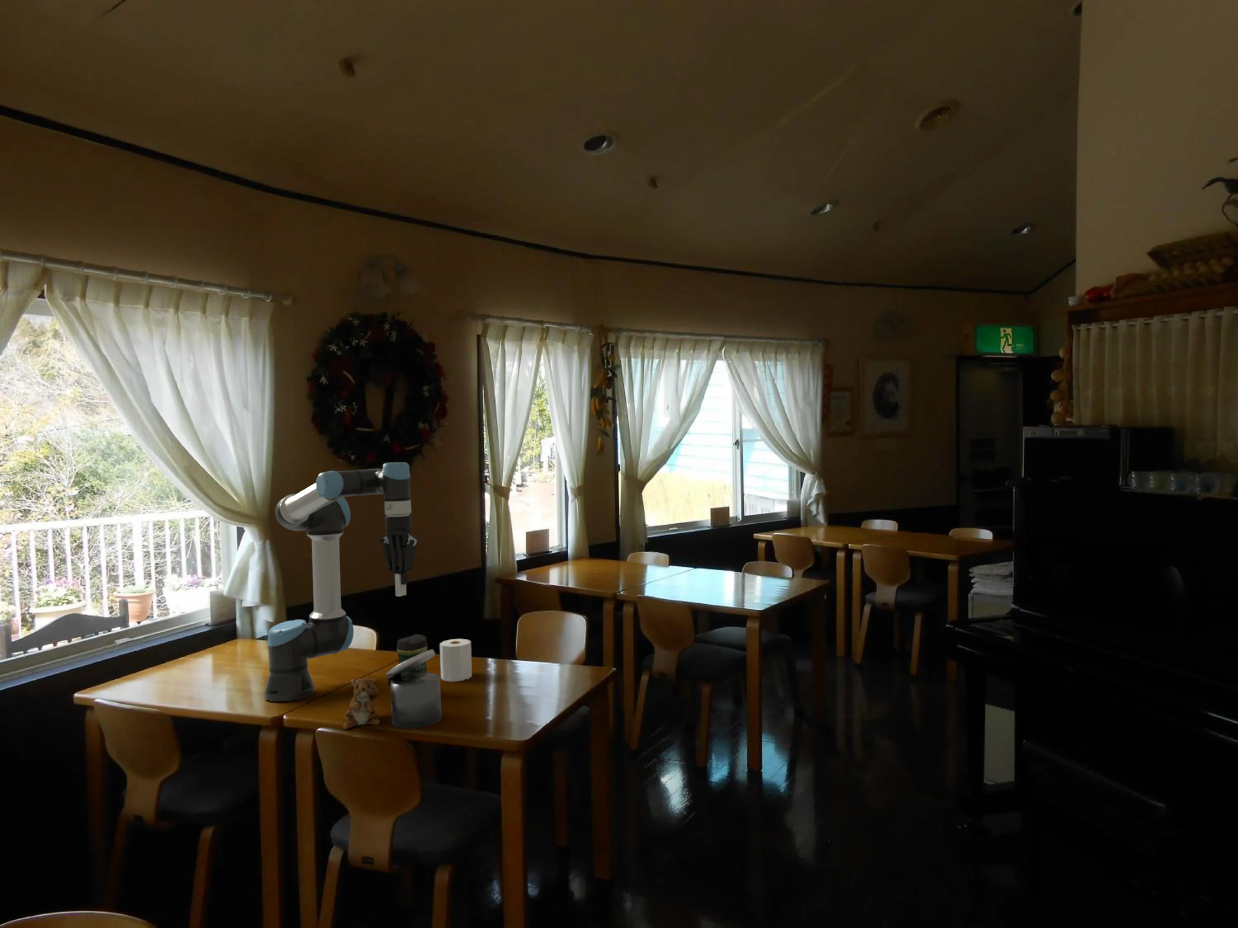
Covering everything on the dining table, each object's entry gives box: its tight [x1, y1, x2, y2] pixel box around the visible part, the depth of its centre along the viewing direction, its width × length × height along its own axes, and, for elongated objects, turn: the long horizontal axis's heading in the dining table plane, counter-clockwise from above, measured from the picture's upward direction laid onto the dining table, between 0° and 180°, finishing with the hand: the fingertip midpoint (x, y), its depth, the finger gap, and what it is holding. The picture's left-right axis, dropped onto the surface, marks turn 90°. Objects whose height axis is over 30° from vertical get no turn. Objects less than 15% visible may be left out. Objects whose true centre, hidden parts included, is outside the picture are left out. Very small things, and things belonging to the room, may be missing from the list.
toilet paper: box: [439, 638, 473, 683], centre depth 279 cm, size 10×10×12 cm
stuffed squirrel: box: [342, 677, 381, 730], centre depth 238 cm, size 10×14×13 cm
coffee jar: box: [396, 634, 428, 675], centre depth 263 cm, size 10×8×19 cm
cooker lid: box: [386, 649, 436, 679], centre depth 238 cm, size 15×15×1 cm
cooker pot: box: [387, 672, 442, 730], centre depth 238 cm, size 15×14×12 cm
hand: (401, 595), depth 238 cm, fingers closed
